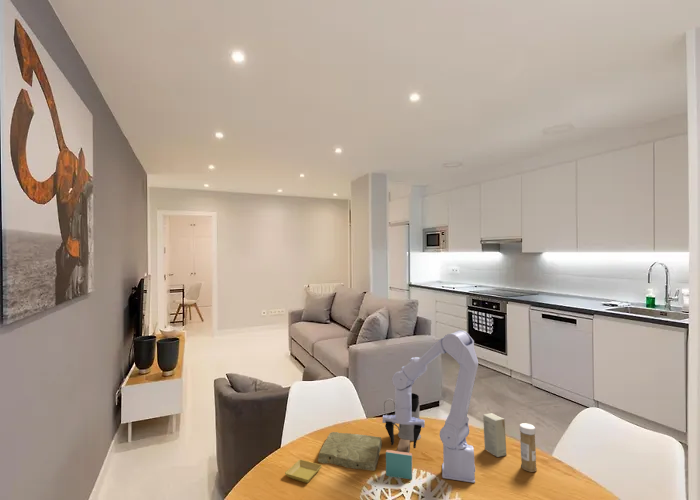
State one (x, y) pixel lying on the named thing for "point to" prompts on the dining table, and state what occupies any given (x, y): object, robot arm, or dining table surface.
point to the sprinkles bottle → (528, 447)
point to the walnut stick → (404, 446)
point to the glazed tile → (399, 464)
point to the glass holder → (407, 430)
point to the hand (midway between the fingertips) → (403, 445)
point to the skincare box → (494, 434)
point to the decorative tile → (351, 450)
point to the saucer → (303, 470)
